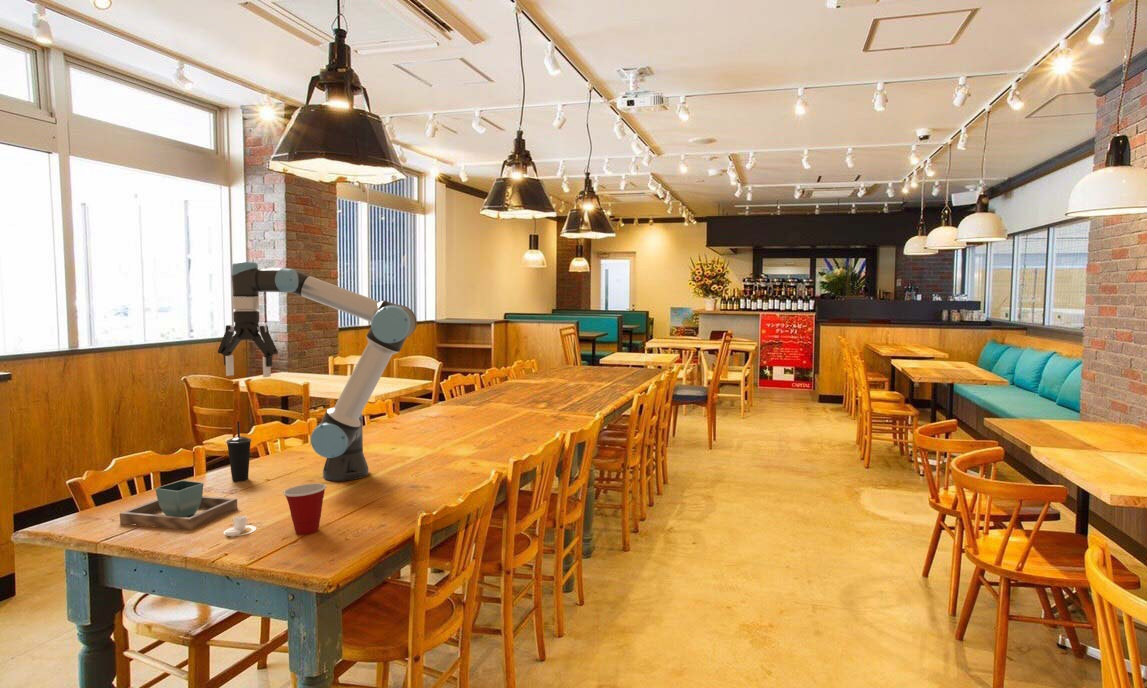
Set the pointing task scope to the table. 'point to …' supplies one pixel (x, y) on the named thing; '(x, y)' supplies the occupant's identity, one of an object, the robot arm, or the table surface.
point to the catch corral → (144, 516)
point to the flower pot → (180, 498)
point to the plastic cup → (306, 506)
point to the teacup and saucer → (239, 527)
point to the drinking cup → (239, 456)
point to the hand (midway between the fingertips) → (248, 376)
